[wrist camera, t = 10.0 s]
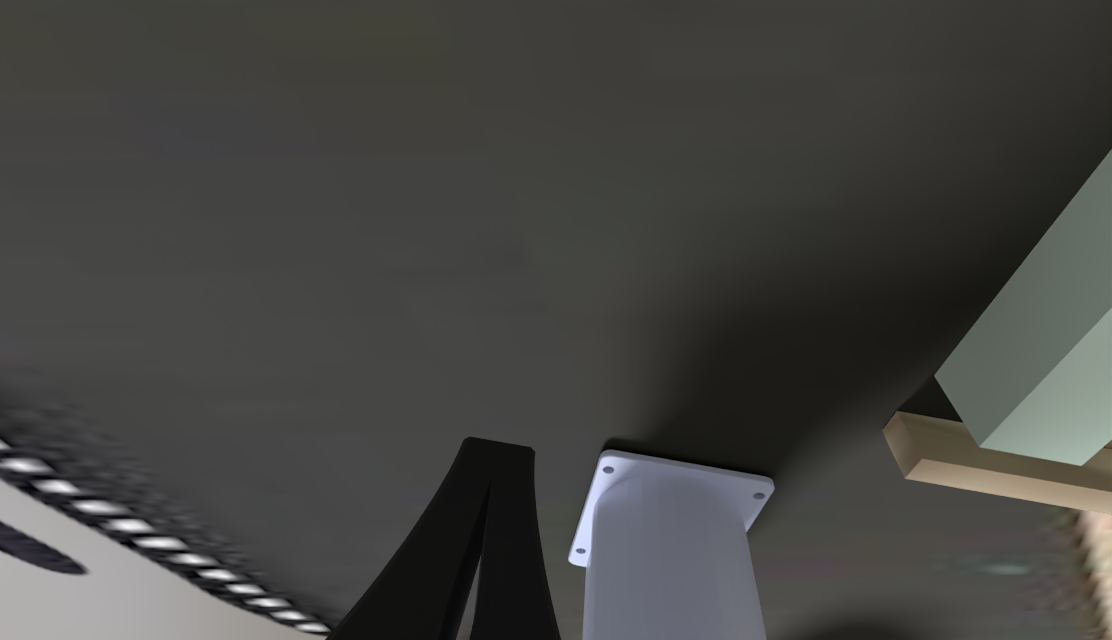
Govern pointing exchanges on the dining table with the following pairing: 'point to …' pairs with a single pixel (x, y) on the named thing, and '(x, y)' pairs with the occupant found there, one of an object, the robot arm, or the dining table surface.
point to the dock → (995, 465)
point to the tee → (1046, 342)
